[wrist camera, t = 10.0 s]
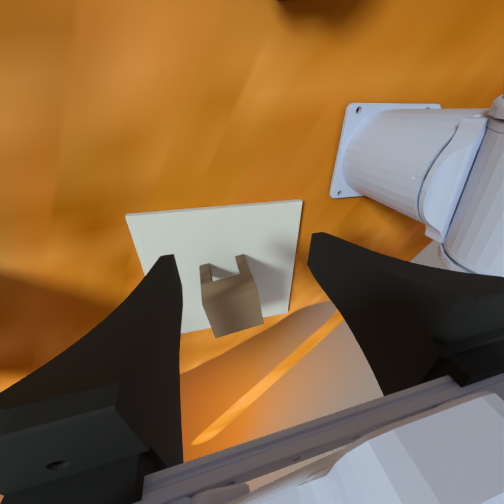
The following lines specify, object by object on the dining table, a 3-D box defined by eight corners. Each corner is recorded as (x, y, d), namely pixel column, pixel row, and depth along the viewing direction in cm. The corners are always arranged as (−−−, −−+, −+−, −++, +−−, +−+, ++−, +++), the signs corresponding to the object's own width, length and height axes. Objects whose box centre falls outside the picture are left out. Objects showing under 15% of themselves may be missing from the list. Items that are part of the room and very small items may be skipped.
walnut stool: (243, 253, 23) (257, 288, 19) (250, 286, 26) (263, 323, 21) (199, 265, 22) (201, 304, 18) (210, 297, 25) (215, 338, 21)
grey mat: (300, 199, 22) (302, 201, 21) (285, 309, 31) (287, 312, 30) (126, 213, 19) (125, 216, 18) (166, 332, 27) (165, 336, 27)
